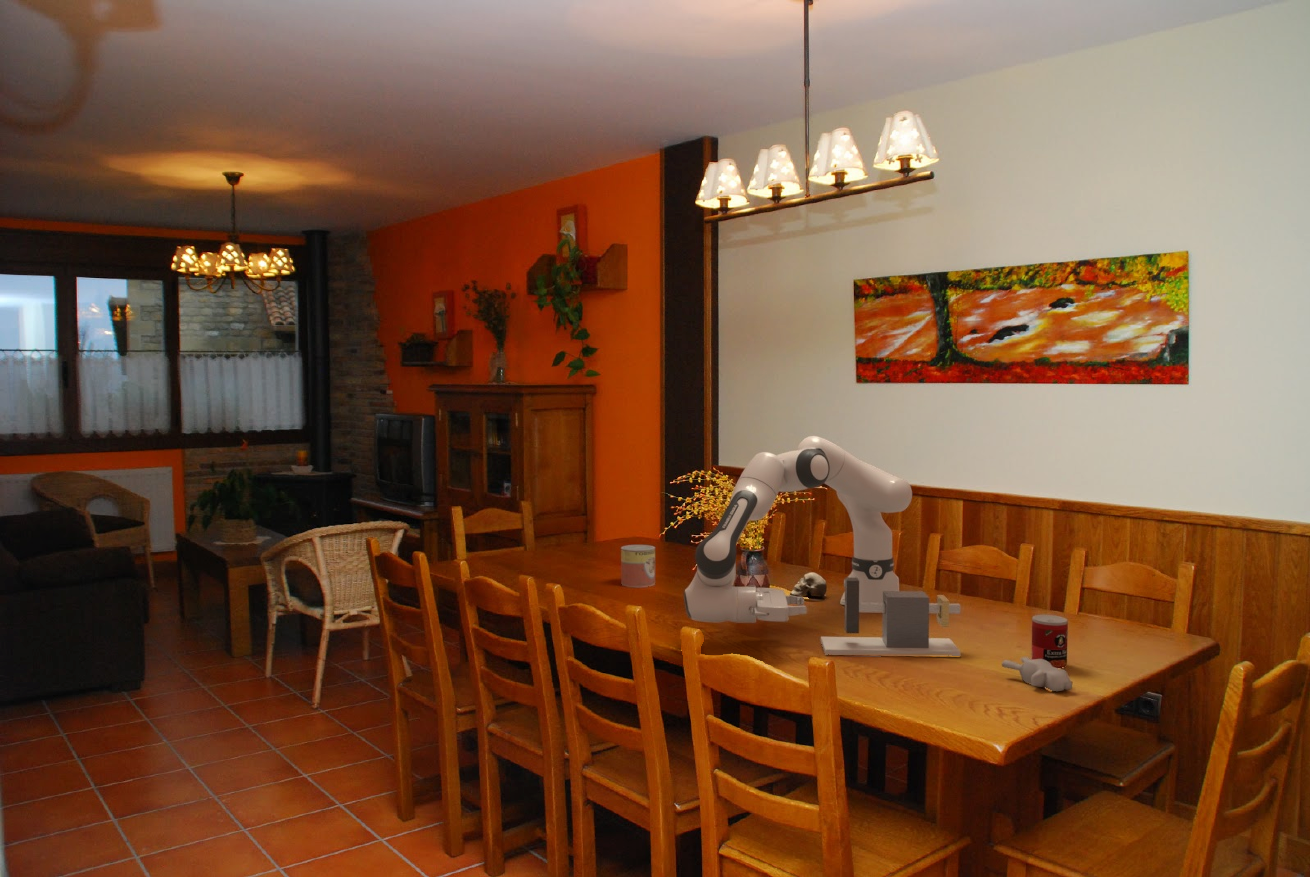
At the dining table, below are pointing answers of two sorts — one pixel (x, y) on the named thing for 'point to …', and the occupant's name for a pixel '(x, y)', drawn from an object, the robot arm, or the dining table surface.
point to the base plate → (884, 647)
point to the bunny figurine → (1041, 673)
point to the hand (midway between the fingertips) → (805, 605)
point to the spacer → (943, 611)
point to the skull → (810, 587)
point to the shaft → (873, 606)
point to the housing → (906, 619)
